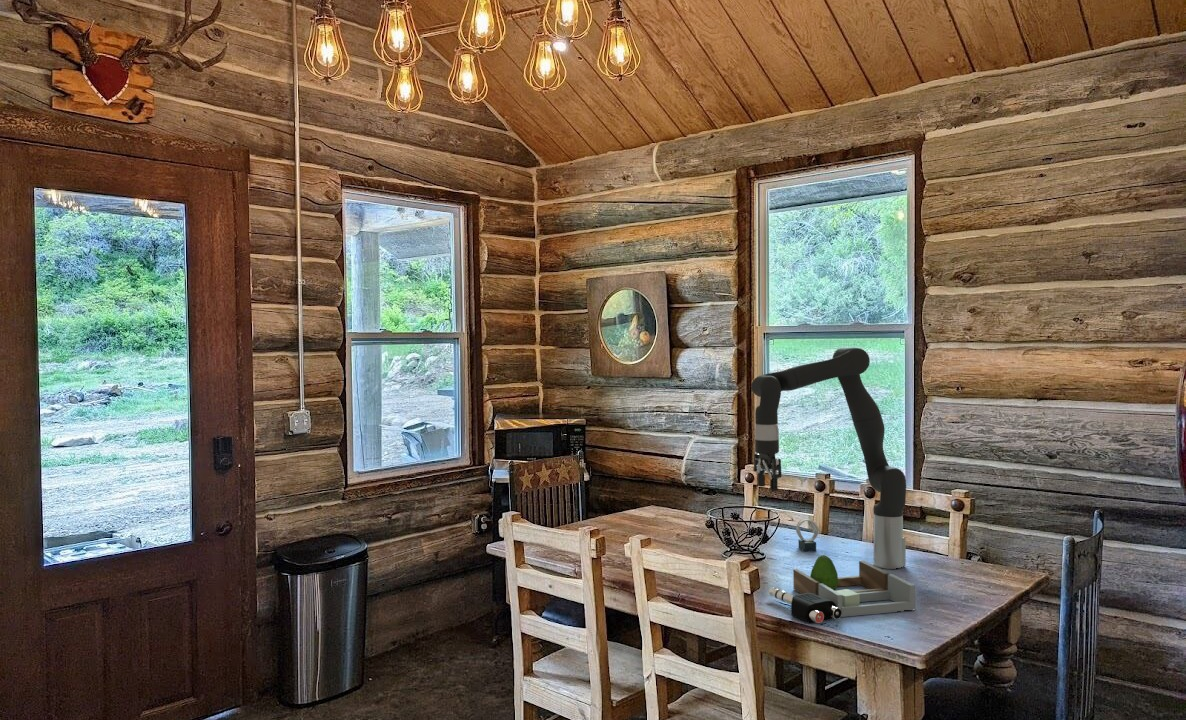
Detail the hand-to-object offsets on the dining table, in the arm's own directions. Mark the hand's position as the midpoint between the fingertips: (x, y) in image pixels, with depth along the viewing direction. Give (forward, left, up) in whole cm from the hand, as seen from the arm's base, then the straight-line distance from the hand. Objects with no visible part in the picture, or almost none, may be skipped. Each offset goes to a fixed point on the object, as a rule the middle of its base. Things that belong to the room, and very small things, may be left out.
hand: (767, 488), depth 260 cm
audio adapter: (+6, +33, -29) cm, 44 cm away
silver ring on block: (-28, -27, -29) cm, 48 cm away
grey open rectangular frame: (-13, +35, -28) cm, 47 cm away
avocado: (-8, +22, -29) cm, 37 cm away
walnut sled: (-13, +22, -28) cm, 38 cm away
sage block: (-8, +35, -29) cm, 46 cm away
